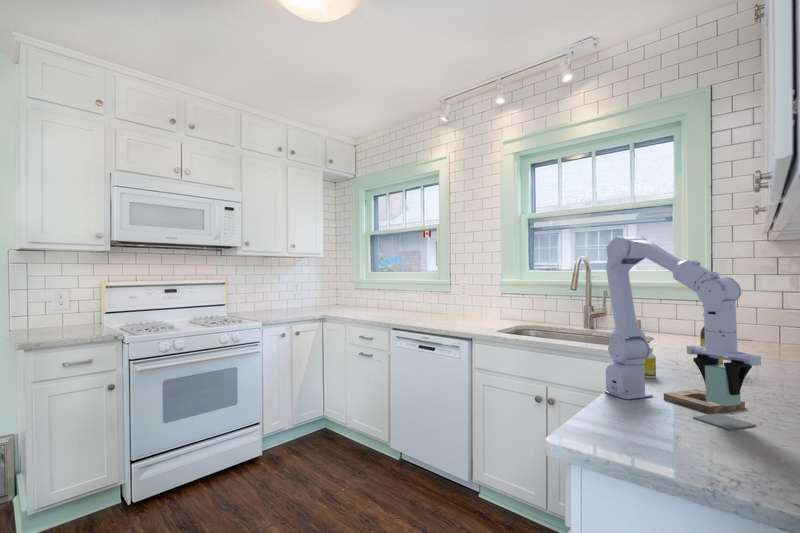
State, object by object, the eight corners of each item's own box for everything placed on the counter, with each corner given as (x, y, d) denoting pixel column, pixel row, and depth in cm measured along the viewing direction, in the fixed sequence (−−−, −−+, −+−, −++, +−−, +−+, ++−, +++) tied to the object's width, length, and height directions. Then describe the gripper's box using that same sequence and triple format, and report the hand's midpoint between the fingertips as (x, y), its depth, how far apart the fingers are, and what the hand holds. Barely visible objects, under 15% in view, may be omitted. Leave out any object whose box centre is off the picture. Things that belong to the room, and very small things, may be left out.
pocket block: (710, 413, 96) (709, 406, 96) (663, 399, 108) (663, 393, 108) (745, 408, 100) (744, 401, 100) (696, 394, 111) (696, 389, 111)
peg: (726, 406, 88) (725, 369, 88) (706, 400, 92) (704, 365, 92) (740, 404, 89) (739, 368, 89) (719, 398, 93) (718, 364, 94)
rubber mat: (730, 430, 85) (730, 429, 85) (692, 418, 93) (692, 416, 93) (756, 426, 88) (756, 424, 88) (717, 414, 95) (717, 413, 95)
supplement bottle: (659, 378, 129) (658, 348, 129) (640, 378, 130) (639, 347, 130) (652, 374, 134) (651, 345, 135) (634, 374, 136) (633, 345, 136)
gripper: (769, 334, 85) (772, 398, 85) (700, 326, 99) (702, 382, 99) (746, 336, 83) (749, 402, 83) (679, 328, 97) (681, 384, 97)
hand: (722, 391), depth 91 cm, fingers closed on peg, 4 cm apart
